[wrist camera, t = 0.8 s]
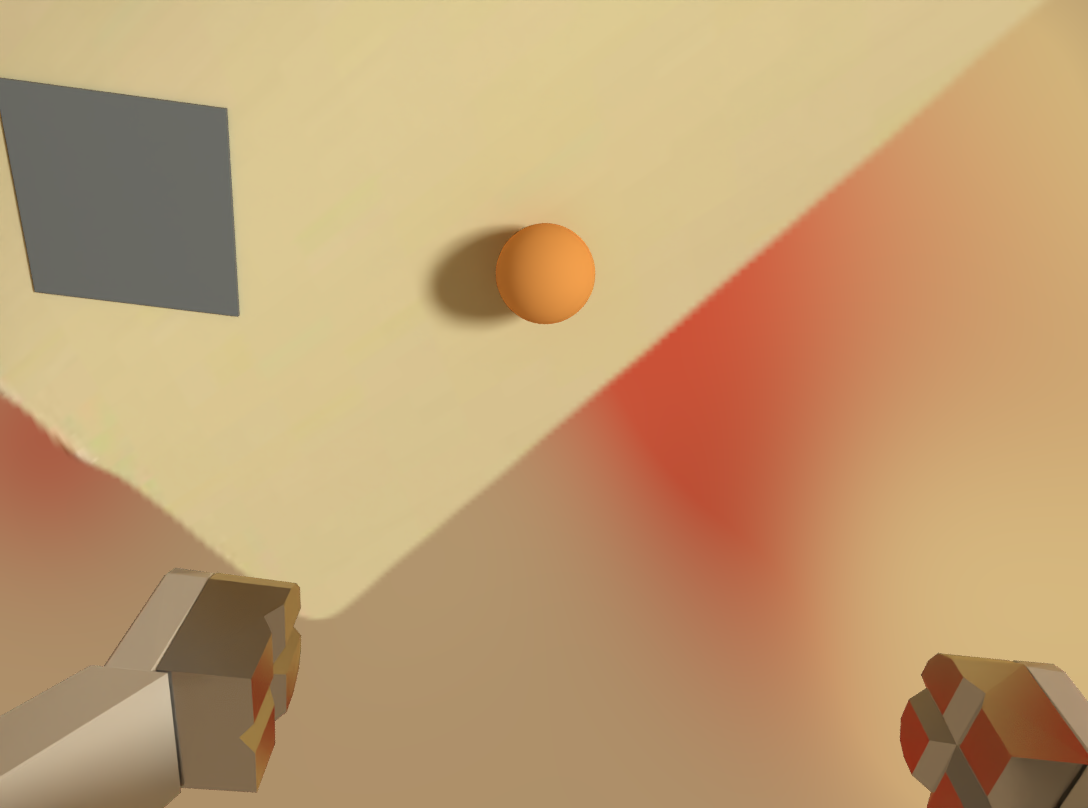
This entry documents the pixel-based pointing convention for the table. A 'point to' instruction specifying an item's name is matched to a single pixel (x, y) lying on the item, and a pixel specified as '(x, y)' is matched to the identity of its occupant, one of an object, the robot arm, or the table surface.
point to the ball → (545, 273)
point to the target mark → (123, 196)
